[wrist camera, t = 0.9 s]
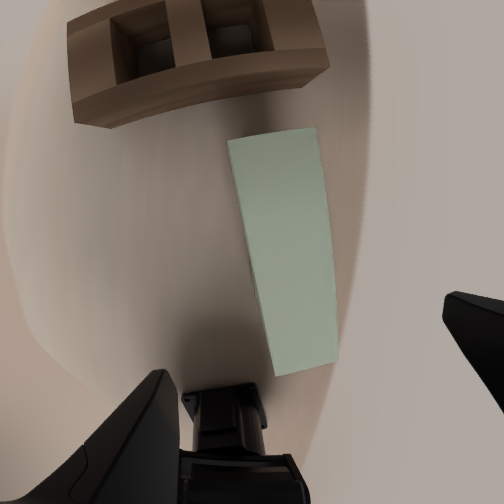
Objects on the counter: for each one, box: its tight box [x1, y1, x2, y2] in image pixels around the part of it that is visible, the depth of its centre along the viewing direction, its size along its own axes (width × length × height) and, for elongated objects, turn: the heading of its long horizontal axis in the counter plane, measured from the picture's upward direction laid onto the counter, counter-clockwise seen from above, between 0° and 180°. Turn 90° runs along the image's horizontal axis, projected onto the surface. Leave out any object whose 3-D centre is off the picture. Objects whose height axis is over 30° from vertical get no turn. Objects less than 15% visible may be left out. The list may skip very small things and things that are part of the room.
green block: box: [227, 127, 339, 377], centre depth 15 cm, size 10×3×8 cm, turn 11°
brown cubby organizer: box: [67, 0, 330, 129], centre depth 12 cm, size 6×12×5 cm, turn 101°
